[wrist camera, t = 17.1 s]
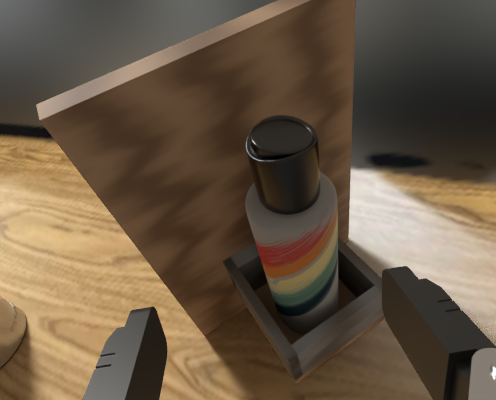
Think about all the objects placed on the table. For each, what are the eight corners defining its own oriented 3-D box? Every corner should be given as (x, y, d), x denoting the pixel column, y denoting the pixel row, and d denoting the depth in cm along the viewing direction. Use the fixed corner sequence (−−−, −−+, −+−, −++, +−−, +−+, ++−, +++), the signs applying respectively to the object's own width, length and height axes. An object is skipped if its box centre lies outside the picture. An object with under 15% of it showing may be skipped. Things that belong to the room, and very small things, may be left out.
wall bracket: (252, 432, 30) (73, 266, 10) (197, 321, 38) (36, 104, 18) (418, 306, 34) (530, 13, 14) (337, 230, 42) (334, -25, 22)
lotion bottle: (269, 288, 33) (215, 118, 19) (323, 269, 34) (310, 88, 19) (288, 344, 30) (239, 184, 15) (349, 322, 30) (358, 144, 15)
